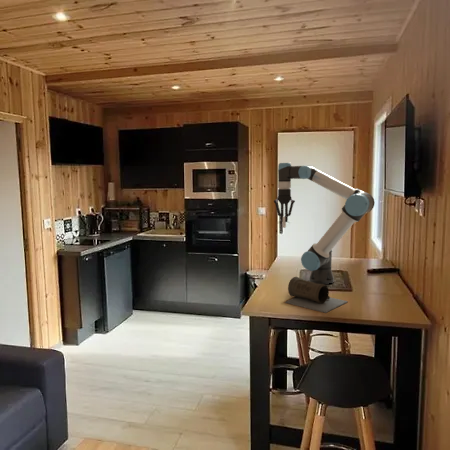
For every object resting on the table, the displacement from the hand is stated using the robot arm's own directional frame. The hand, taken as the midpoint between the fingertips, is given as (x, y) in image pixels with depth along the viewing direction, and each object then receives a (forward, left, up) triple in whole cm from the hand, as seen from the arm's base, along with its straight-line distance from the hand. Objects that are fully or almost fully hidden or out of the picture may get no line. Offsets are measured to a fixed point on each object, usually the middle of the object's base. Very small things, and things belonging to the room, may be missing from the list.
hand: (284, 227), depth 256 cm
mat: (-24, +35, -34) cm, 55 cm away
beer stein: (-12, +26, -29) cm, 41 cm away
